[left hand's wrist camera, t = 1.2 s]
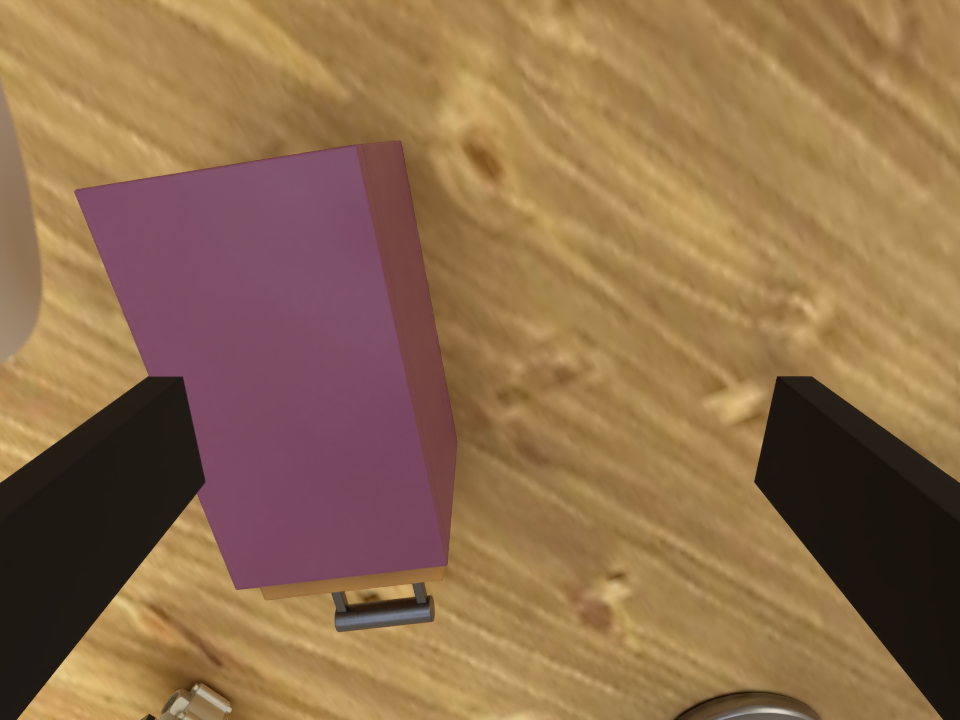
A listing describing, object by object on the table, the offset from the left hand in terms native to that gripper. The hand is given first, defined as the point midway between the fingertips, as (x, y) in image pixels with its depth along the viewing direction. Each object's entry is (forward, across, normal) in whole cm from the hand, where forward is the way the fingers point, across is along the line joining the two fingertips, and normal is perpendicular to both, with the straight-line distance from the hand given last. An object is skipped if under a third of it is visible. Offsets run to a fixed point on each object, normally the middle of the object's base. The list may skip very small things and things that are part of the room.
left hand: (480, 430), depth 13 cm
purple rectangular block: (+23, -8, -4) cm, 25 cm away
